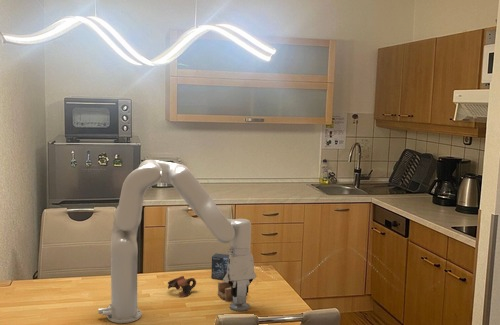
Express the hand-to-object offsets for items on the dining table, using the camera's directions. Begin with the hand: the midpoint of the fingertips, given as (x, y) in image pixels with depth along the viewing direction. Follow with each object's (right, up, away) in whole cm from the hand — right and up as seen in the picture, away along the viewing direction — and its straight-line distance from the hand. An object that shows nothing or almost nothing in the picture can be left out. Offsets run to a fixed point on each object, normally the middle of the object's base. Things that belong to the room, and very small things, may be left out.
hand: (239, 294), depth 207 cm
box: (-9, -1, +34) cm, 35 cm away
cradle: (-4, -3, +12) cm, 13 cm away
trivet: (0, -5, +1) cm, 5 cm away
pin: (0, -3, 0) cm, 3 cm away
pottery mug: (-25, -3, +14) cm, 29 cm away
